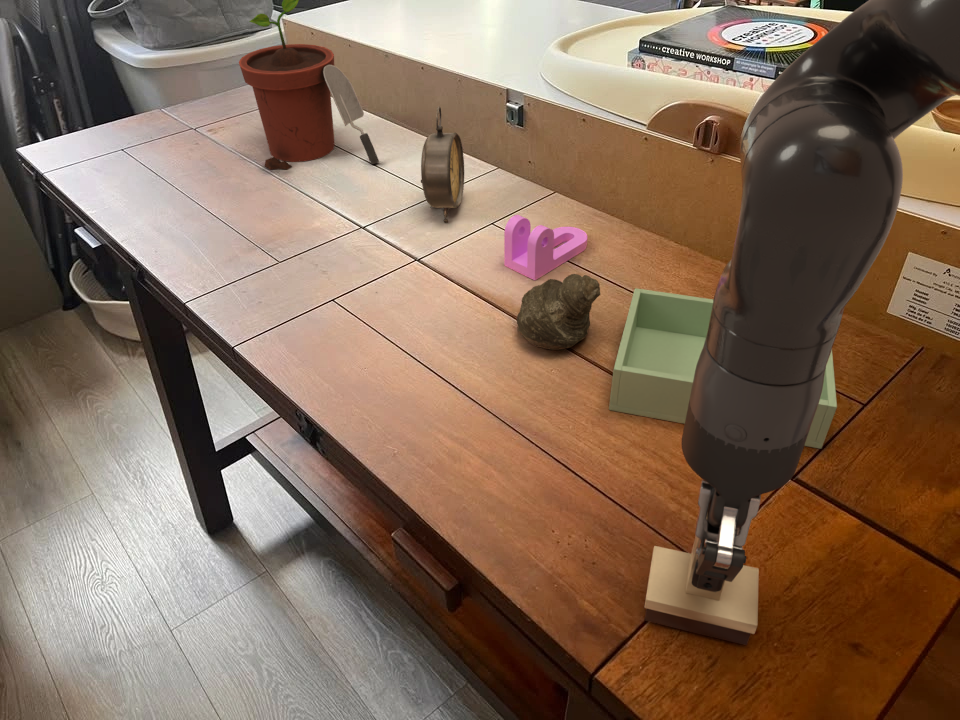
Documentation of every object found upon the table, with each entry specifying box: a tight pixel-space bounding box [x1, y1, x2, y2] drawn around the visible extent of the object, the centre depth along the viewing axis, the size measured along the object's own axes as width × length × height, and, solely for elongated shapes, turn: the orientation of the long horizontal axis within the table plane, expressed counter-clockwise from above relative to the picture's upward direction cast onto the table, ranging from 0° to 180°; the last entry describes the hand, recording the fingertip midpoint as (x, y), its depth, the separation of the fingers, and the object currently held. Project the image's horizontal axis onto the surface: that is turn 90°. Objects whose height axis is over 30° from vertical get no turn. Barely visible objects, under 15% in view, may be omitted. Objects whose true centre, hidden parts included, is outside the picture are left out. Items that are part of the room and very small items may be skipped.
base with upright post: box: [643, 512, 760, 646], centre depth 59 cm, size 8×5×10 cm, turn 73°
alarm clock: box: [420, 105, 465, 224], centre depth 113 cm, size 11×5×16 cm, turn 171°
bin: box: [608, 287, 838, 450], centre depth 83 cm, size 22×16×6 cm
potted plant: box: [238, 0, 380, 171], centre depth 128 cm, size 18×22×25 cm
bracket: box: [503, 214, 588, 281], centre depth 105 cm, size 13×6×7 cm, turn 135°
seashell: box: [516, 273, 601, 351], centre depth 90 cm, size 11×12×10 cm
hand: (707, 567), depth 59 cm, fingers closed on base with upright post, 2 cm apart
